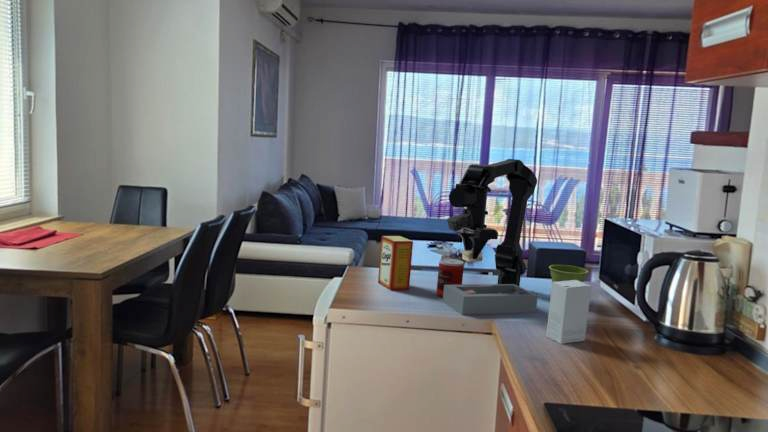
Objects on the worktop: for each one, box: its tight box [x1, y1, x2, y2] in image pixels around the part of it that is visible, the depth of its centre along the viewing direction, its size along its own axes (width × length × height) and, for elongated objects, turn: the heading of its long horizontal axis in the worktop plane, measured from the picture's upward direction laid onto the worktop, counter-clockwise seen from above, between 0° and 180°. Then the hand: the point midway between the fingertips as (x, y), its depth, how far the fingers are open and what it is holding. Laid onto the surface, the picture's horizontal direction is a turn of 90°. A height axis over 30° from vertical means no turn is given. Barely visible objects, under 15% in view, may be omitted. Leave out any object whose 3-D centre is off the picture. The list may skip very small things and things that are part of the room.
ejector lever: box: [463, 289, 521, 295], centre depth 180 cm, size 18×3×3 cm, turn 109°
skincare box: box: [545, 280, 593, 345], centre depth 154 cm, size 8×6×15 cm
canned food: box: [436, 258, 465, 299], centre depth 189 cm, size 8×8×11 cm
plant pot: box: [548, 264, 589, 283], centre depth 191 cm, size 12×12×11 cm
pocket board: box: [442, 283, 539, 315], centre depth 180 cm, size 24×13×5 cm, turn 109°
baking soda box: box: [377, 235, 414, 291], centre depth 195 cm, size 10×6×16 cm
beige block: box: [461, 249, 483, 263], centre depth 185 cm, size 5×4×3 cm
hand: (471, 257), depth 185 cm, fingers closed on beige block, 4 cm apart
